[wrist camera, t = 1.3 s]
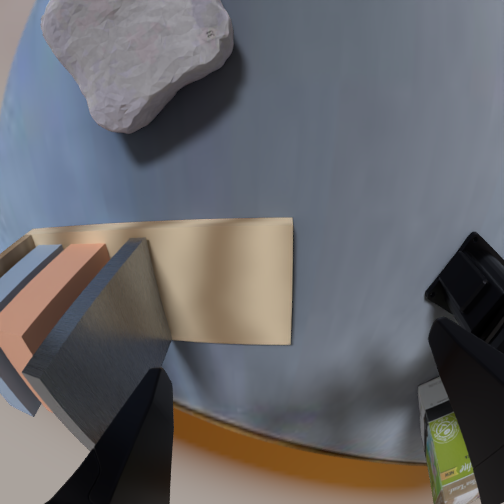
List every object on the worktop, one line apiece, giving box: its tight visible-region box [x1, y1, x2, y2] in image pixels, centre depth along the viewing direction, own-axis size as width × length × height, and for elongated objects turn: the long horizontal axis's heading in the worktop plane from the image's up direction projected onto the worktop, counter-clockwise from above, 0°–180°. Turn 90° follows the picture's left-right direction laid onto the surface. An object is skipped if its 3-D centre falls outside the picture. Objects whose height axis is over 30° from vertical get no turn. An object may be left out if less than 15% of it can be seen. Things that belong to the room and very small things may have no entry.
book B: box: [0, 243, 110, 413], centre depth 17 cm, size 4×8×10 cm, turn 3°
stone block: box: [41, 0, 234, 134], centre depth 13 cm, size 12×5×10 cm
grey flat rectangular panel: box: [22, 237, 172, 451], centre depth 16 cm, size 1×9×12 cm, turn 3°
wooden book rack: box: [0, 218, 293, 345], centre depth 18 cm, size 22×10×11 cm, turn 93°
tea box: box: [418, 377, 480, 504], centre depth 22 cm, size 15×10×15 cm, turn 27°
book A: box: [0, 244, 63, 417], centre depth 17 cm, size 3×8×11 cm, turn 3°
